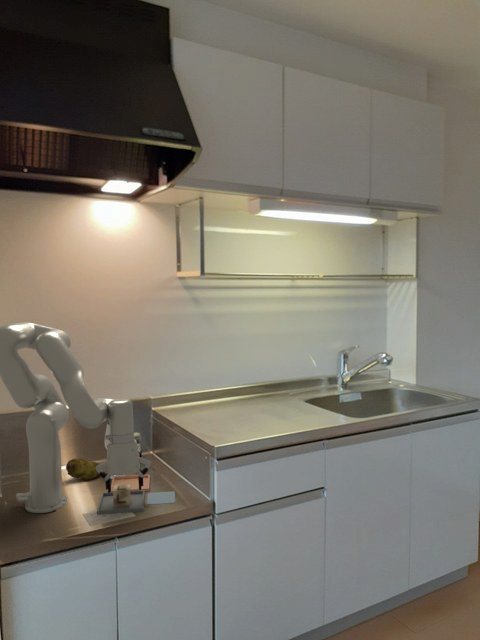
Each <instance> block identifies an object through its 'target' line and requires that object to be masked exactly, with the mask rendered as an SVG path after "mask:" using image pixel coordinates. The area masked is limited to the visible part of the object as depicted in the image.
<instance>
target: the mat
mask: <svg viewBox="0 0 480 640" xmlns="http://www.w3.org/2000/svg"><path fill="white" fill-rule="evenodd" d="M146 497H147V498H146V499H147V503H146V504H147V506H150V505H164V504H165V505H166V504H176V493H175V491H174V490H173V491H161V492H159V491H158V492H147V496H146Z"/></svg>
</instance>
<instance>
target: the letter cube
mask: <svg viewBox="0 0 480 640" xmlns="http://www.w3.org/2000/svg"><path fill="white" fill-rule="evenodd" d="M121 506H130V485H115V486H114V490H113V507H121Z"/></svg>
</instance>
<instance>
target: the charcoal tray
mask: <svg viewBox="0 0 480 640" xmlns="http://www.w3.org/2000/svg"><path fill="white" fill-rule="evenodd" d="M145 495H146V492H145V490H137V491H130V506H121V507H113V492H110V493H108V491H107V492H101V495H100V499H99V503H98V507H97V511H96V514H97V515H109V514H111V515H112V514H123V513H125V514H126V513H137V512H139V513H140V512H144V510H145Z"/></svg>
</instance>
